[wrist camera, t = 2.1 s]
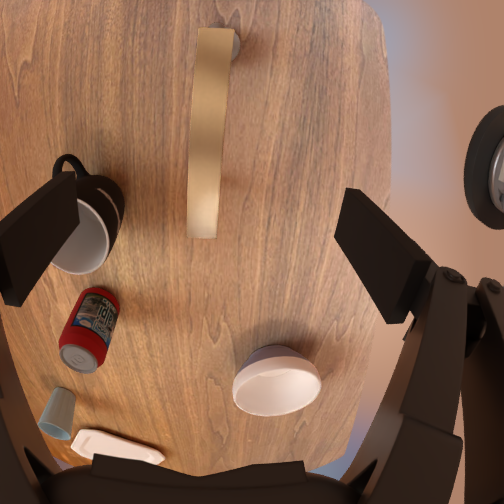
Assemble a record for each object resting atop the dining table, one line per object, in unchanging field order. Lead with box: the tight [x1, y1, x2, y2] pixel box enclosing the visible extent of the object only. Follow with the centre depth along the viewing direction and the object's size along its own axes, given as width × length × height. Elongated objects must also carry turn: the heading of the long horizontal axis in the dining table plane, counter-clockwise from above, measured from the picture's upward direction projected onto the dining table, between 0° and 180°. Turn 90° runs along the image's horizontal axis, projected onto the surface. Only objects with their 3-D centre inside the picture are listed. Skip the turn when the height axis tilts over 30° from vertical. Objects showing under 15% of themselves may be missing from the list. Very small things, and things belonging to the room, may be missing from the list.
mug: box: [50, 154, 125, 275], centre depth 31 cm, size 12×9×10 cm
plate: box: [71, 429, 165, 465], centre depth 71 cm, size 25×25×2 cm
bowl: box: [232, 345, 321, 416], centre depth 51 cm, size 14×14×8 cm
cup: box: [38, 387, 76, 440], centre depth 52 cm, size 8×8×10 cm
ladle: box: [187, 22, 240, 239], centre depth 26 cm, size 18×4×14 cm, turn 174°
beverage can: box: [59, 287, 120, 374], centre depth 39 cm, size 7×7×12 cm
